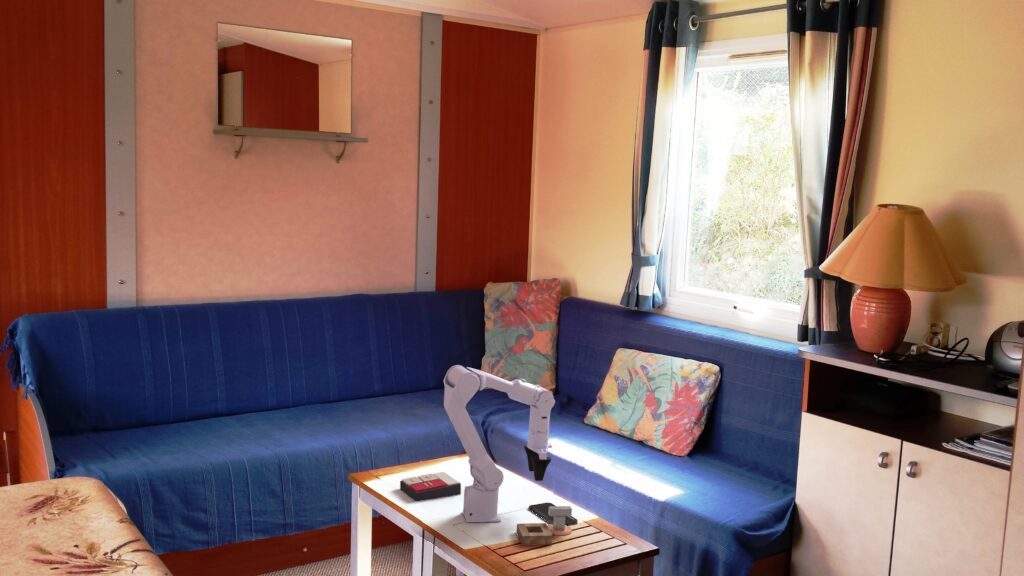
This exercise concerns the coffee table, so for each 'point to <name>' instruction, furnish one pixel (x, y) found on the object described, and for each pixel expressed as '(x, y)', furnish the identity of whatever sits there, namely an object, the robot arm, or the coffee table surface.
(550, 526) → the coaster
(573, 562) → the coffee table surface
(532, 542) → the socket block
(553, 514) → the t key
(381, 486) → the coffee table surface
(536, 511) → the phone
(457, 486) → the black red flat box
